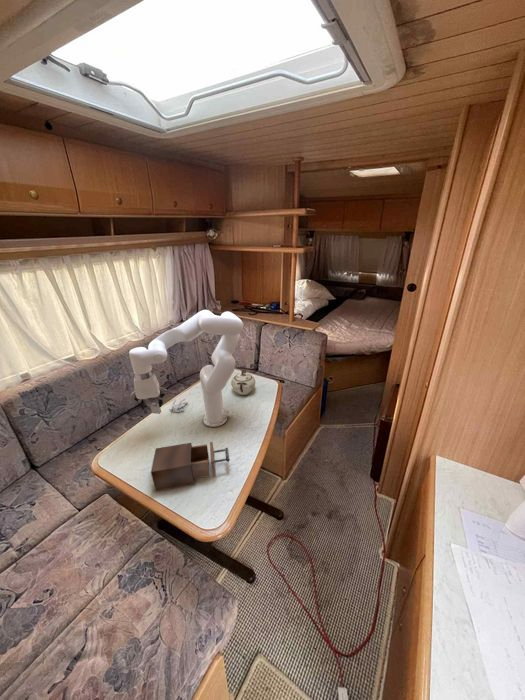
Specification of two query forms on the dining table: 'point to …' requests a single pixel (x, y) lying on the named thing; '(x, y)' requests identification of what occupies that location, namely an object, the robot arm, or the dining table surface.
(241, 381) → the sugar bowl
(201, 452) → the drawer
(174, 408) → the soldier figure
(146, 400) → the lighter
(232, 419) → the dining table surface
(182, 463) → the cabinet
